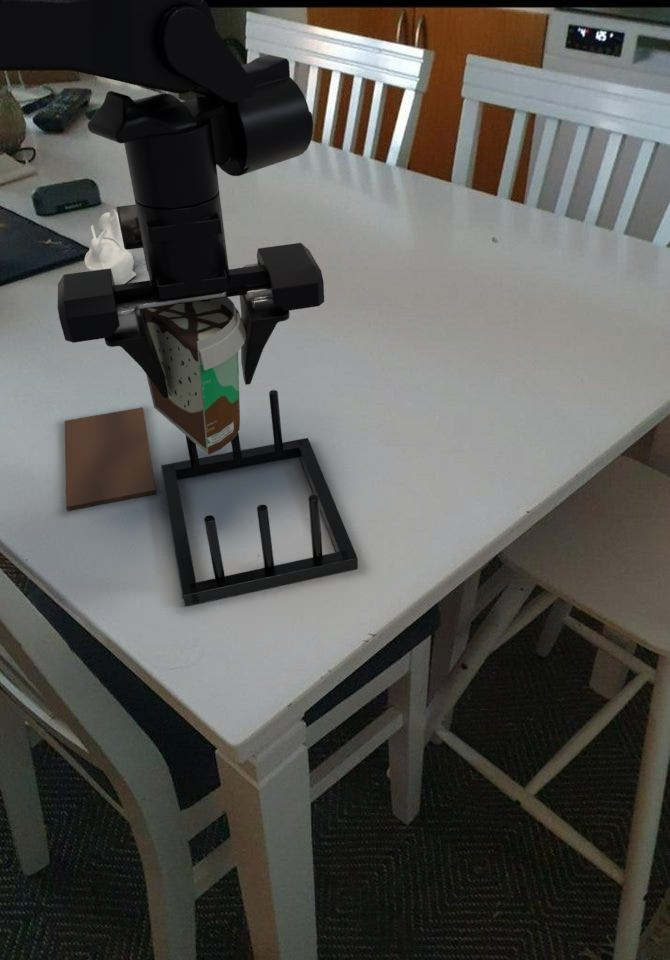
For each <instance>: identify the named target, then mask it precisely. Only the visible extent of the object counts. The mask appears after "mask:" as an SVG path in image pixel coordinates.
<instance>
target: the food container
mask: <svg viewBox="0 0 670 960" xmlns="http://www.w3.org/2000/svg"><path fill="white" fill-rule="evenodd" d="M143 311H144V314H145V318H146V321H147V324H148V328H149V331H150V334H151V336H152V339H153V342H154V345H155V348H156V351H157V354H158V357H159V360H160V363H161V366H162V368H163V371H164V375H165V380H166V385H167V390H168V396H169V397H168V398H163V396H162V395H161V394H160V392H159V391H158V389H157V388H156V387H155V385H154V384H153V383H152V381H151V380H150V378H149V377H148V376H147V374H146V373H145V376H146V379H147V385H148V388H149V392H150V396H151V397H150V398H151V400H152V404H153V405H152V406H153V408H154V410H156V411H157V412H158V413H160V415H162V416H163V417H164V418H165V419H167V420H168V421H169V422H170V423H171V424H172V425H173V426H174V427H176V428H177V430H179V431H180V432H181V433H183V434H184V436H185V435H186V436H187V437H188V438H189V439H191V440H192V441H193V442H194V443H195V444H196V447H198V448H200V449H201V450H202V451H203V452H204V453H205V454H206V455H207V456H211V455H212V454H214V453H215V452H218V451H220V450H222V449H223V448H224V447H226V446H227V445H228V444H229V443H231V441H232V440H233V439H234V437H235V436H236V434H237V433H239V431H240V427H241V409H240V408H241V407H240V402H241V401H240V372H239V370H240V369H239V368H240V367H239V351H241V347H242V346H243V344H244V342H245V339H246V331H245V328H244V325H243V322H242V319H241V313H240V311H239V310H238V309H237V307H236V306H235V303H234V302H233V301H232V300H231V298H230V297H225V298H218V299H211V300H204V301H197V302H190V303H183V304H176V305H169V306H163V307H156V308H149V309H143ZM186 436H185V437H186Z"/></svg>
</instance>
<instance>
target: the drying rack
mask: <svg viewBox="0 0 670 960" xmlns="http://www.w3.org/2000/svg"><path fill="white" fill-rule="evenodd" d="M268 396H269V407H270V418H271V427H272V436H273V444H267V445H262V446H257V447H252V448H251V447H250V448H246V449H242V448H241V441H240V434H239V433H240V432H238V433H237V434H236V436H235V437H234V439H233V440H232V441H231V442H230V444H231V450H232V451H230V452H224V453H219V454H213V455H207V456H203V457H199V452H198V446H197V445H196V444H195V443H194V442H193V441H192V440H191V439H189V438H188V437H187V436H186V435H185V434H184V436H185V441H186V446H187V451H188V457H189V459H187V460H181V461H175V462H170V463H166V464H161V465H160V467H161V473H162V479H163V485H164V490H165V496H166V504H167V510H168V516H169V520H170V526H171V533H172V539H173V545H174V552H175V557H176V564H177V570H178V575H179V576H178V577H179V582H180V588H181V594H182V599H183V602H184V607H189V606H192V605H193V606H194V605H197V604H203V603H206V602H211V601H216V600H220V599H221V600H222V599H225V598H229V597H234V596H238V595H239V596H240V595H243V594H247V593H252V592H256V591H261V590H266V589H271V588H275V587H279V586H285V585H289V584H293V583H298V582H304V581H307V580H312V579H316V578H320V577H325V576H329V575H335V574H339V573H344V572H348V571H353V570H357V569H359V560H358V559H359V558H358V556H357V553H356V550H355V548H354V545H353V543H352V541H351V538H350V536H349V533H348V532H347V528H346V527H345V524H344V522H343V519H342V517H341V515H340V512H339V509H338V507H337V504H336V502H335V500H334V497H333V495H332V492H331V490H330V487H329V485H328V483H327V480H326V478H325V475H324V472H323V471H322V469H321V466H320V463H319V460H318V458H317V456H316V454H315V451H314V449H313V446H312V444H311V442H310V439H309V437H305V438H299V439H294V440H288V441H283V432H282V421H281V411H280V401H279V392H278V390H276V389H272V390H269V392H268ZM295 458H300V461H301V463H302V466H303V469H304V472H305V474H306V477H307V480H308V482H309V484H310V487H311V490H312V493H313V494H310V495H309V496H308V510H309V511H308V513H309V523H310V536H311V539H310V540H311V552H312V553H311V554H312V556H311V557H308V558H304V559H299V560H294V561H288V562H285V563H280V564H276V565H275V560H274V551H273V544H272V543H273V541H272V533H271V526H270V516H269V509H268V506H267V505H266V504H259V505H257V507H256V512H257V521H258V528H259V529H258V530H259V537H260V543H261V544H260V545H261V552H262V553H261V554H262V559H263V567H261V568H257V569H252V570H247V571H242V572H238V573H233V574H229V575H226V574H225V568H224V563H223V556H222V552H221V551H222V550H221V546H220V539H219V533H218V528H217V523H216V517H215V516H214V515H212V514H207V515H205V516H204V518H203V521H204V527H205V533H206V538H207V542H208V548H209V555H210V559H211V564H212V569H213V575H214V578H210V579H205V580H200V581H197V579H196V573H195V568H194V563H193V558H192V557H193V556H192V551H191V547H190V541H189V536H188V530H187V529H188V528H187V525H186V519H185V514H184V508H183V504H182V497H181V492H180V488H179V481H178V480H184V479H189V478H195V477H200V476H206V475H211V474H216V473H220V472H221V473H222V472H227V471H231V470H237V469H242V468H247V467H253V466H257V465H262V464H268V463H272V462H279V461H283V460H288V459H295ZM321 516H322V518H323V521H324V524H325V526H326V529H327V531H328V534H329V536H330V539H331V542H332V544H333V547H334V549H335V552H331V553H327V554H323V541H322V539H323V538H322V521H321Z"/></svg>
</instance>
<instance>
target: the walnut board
mask: <svg viewBox="0 0 670 960" xmlns="http://www.w3.org/2000/svg"><path fill="white" fill-rule="evenodd" d="M145 417H146V416H145V410H144V407H137V408H130V409H125V410H119V411H114V412H108V413H102V414H96V415H92V416H91V415H90V416H84V417H79V418H71V419H67V420H64V456H65V457H64V461H65V508H66V510H67V511H72V510H77V509H82V508H87V507H88V508H89V507H93V506H97V505H99V506H100V505H103V504H109V503H114V502H119V501H124V500H129V499H134V498H140V497H145V496H151V495H155V494H157V489H156V483H155V477H154V469H153V462H152V455H151V450H150V443H149V437H148V430H147V425H146V418H145Z"/></svg>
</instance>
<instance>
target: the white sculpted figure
mask: <svg viewBox="0 0 670 960" xmlns="http://www.w3.org/2000/svg"><path fill="white" fill-rule="evenodd" d="M98 231H99V232H101V233H100V234H99V235H98V237H97V235H96V232H95V226H94V225H91V226H90V232H91V235H92V238H91V241H90V245H89V248H88V249H89V250H88V251H87V252H86V254H85V256H84V266H85V268H86V272H87V271H94V270H101V269H109V268H111V271H112V274H113V278H114V283H115V285H120V284H127V283H129V282H130V280H131V279H133V278H135V277H136V276H137V273H136V272H135V271H134V270H133V269H134V263H135V261H134V256H133V249H130V250H126V249H125V248H124V244H123V239H122V234H121V229H120V223H119V218H118V213H117V209H115V208H112V209H111V210H109V212H104V213H103V214H102V215H101V216H100V218H99V220H98Z"/></svg>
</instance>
